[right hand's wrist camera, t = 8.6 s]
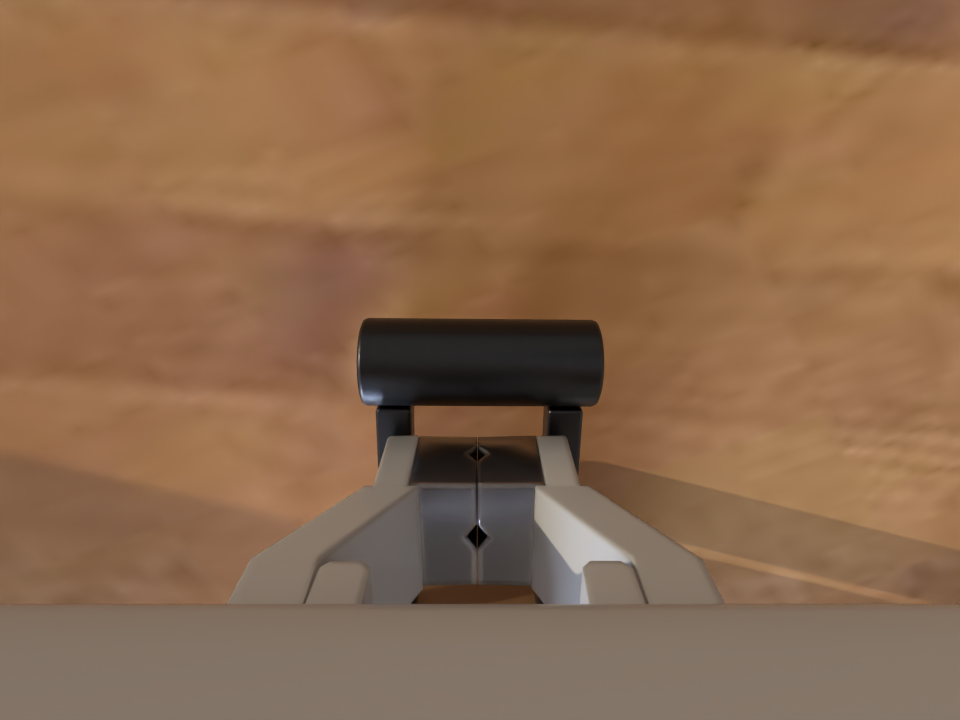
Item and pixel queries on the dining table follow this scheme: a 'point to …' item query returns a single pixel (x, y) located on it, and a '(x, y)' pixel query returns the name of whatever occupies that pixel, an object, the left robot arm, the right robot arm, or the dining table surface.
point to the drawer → (479, 389)
